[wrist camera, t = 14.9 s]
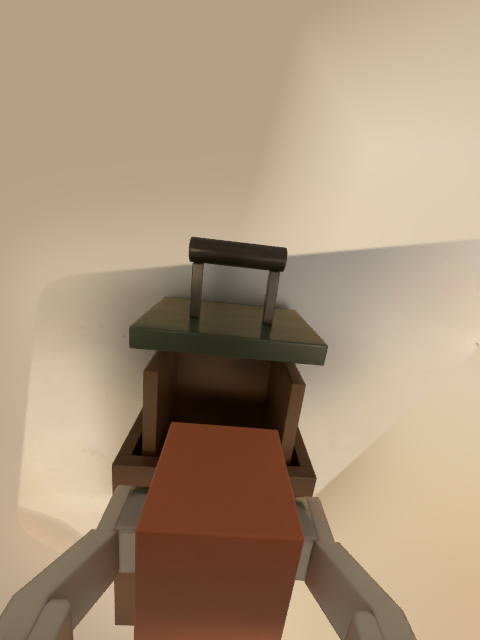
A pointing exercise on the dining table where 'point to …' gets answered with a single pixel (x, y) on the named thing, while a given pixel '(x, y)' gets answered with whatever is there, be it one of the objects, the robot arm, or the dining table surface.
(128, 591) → the cabinet
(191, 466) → the block
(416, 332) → the dining table surface
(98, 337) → the dining table surface
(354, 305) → the dining table surface
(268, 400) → the drawer
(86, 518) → the dining table surface
